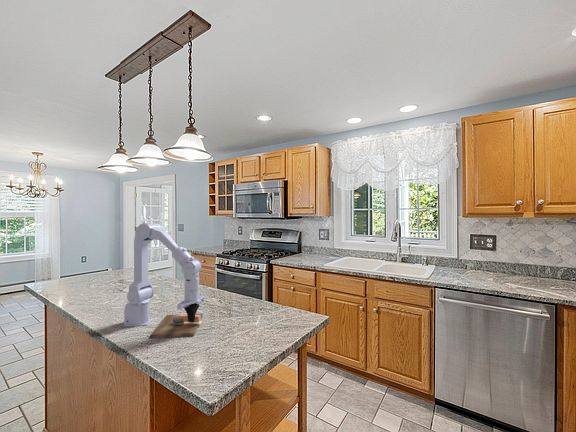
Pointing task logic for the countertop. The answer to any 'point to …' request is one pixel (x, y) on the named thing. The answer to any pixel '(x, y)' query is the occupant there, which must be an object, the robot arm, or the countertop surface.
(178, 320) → the orange bar
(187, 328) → the lock board
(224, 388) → the countertop surface
